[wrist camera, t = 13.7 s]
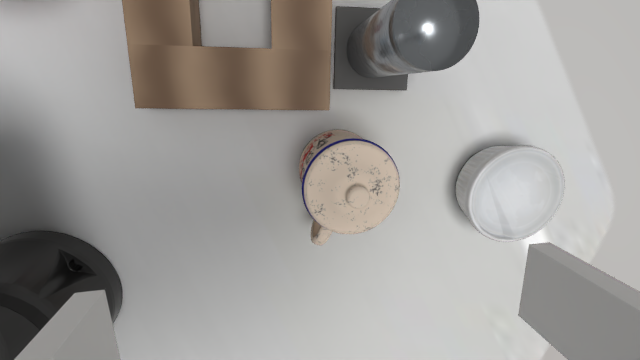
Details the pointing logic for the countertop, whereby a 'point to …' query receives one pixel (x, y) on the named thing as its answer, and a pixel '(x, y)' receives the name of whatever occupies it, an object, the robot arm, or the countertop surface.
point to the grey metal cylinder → (413, 37)
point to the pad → (343, 71)
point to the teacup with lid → (346, 184)
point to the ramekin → (510, 191)
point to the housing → (228, 59)
